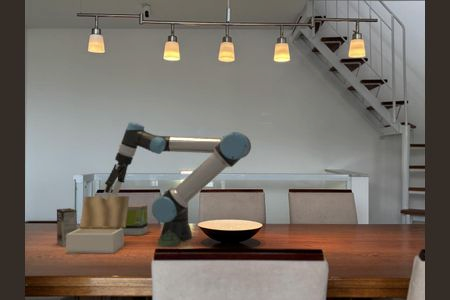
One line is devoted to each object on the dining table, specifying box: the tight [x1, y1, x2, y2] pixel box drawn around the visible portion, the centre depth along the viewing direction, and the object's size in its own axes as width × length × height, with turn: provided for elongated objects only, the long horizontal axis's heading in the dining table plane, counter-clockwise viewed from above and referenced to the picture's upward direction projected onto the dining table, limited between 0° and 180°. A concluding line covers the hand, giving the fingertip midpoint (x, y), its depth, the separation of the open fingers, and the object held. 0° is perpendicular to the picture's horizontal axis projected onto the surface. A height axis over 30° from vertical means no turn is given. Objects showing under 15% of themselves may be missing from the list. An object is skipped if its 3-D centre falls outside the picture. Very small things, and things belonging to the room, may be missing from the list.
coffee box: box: [56, 208, 78, 248], centre depth 178 cm, size 9×6×16 cm
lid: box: [79, 194, 130, 229], centre depth 177 cm, size 21×16×2 cm
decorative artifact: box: [157, 229, 181, 248], centre depth 175 cm, size 10×7×10 cm
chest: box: [65, 228, 125, 255], centre depth 167 cm, size 20×14×8 cm
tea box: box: [124, 204, 149, 236], centre depth 200 cm, size 15×10×15 cm
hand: (109, 196), depth 180 cm, fingers open, 13 cm apart
